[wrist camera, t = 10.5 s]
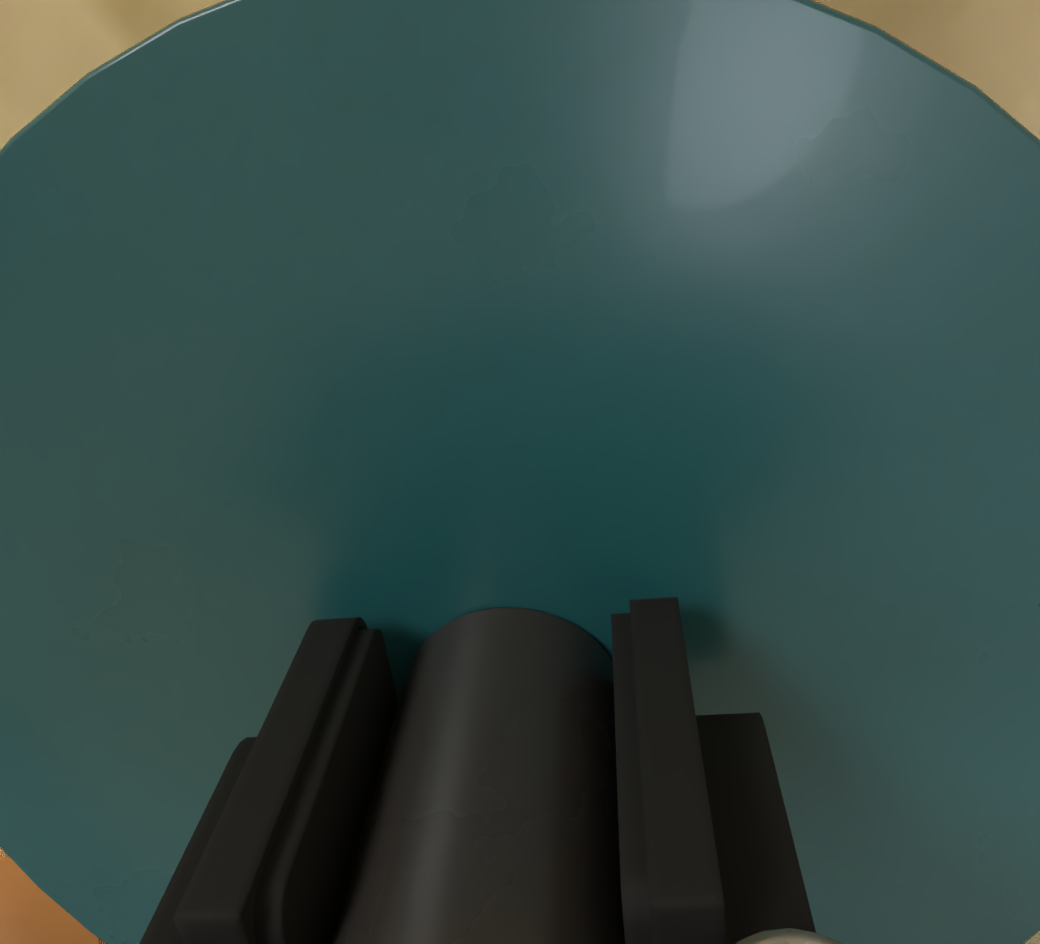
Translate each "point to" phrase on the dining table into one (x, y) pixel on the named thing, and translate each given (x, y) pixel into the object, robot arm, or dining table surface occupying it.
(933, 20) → the dining table surface
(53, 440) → the lid
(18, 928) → the egg
